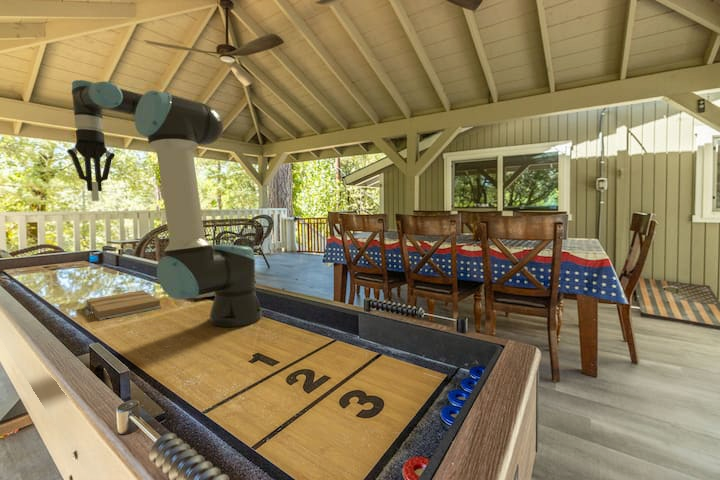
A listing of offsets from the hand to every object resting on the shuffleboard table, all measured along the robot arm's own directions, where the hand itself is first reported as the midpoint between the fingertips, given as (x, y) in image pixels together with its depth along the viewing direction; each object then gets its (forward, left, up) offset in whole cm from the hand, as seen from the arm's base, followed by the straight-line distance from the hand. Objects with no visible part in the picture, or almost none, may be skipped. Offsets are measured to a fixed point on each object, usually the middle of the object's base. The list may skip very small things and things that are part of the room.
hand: (95, 200), depth 117 cm
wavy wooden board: (-7, -3, -36) cm, 37 cm away
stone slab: (-8, -28, -37) cm, 47 cm away
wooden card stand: (-11, -4, -36) cm, 38 cm away
